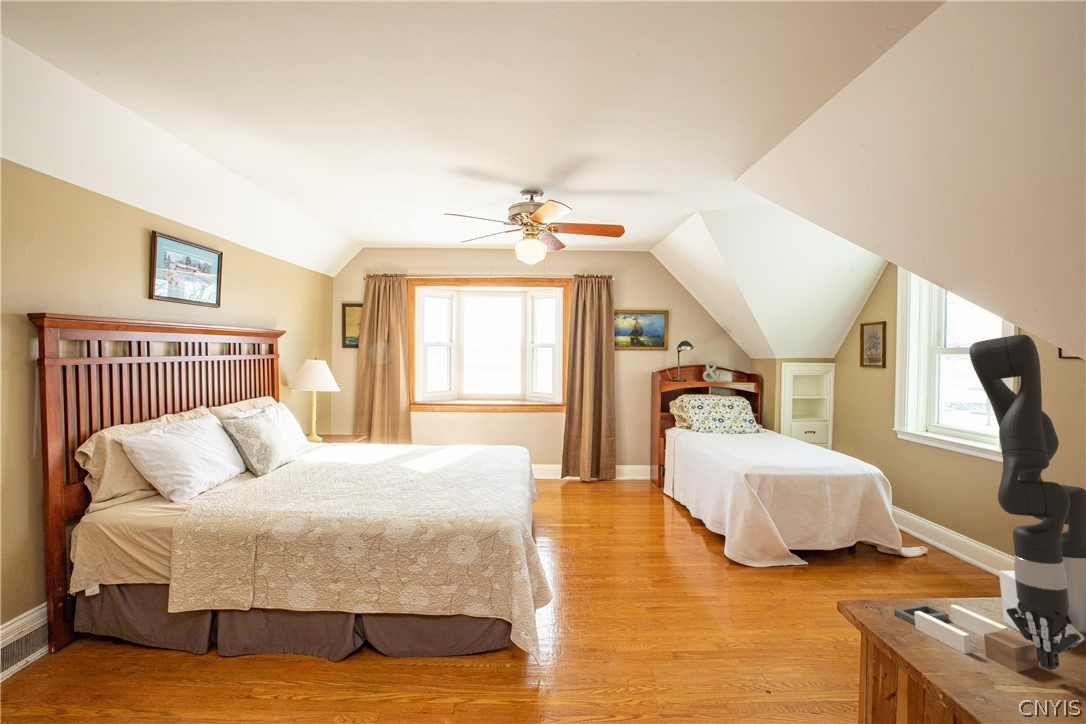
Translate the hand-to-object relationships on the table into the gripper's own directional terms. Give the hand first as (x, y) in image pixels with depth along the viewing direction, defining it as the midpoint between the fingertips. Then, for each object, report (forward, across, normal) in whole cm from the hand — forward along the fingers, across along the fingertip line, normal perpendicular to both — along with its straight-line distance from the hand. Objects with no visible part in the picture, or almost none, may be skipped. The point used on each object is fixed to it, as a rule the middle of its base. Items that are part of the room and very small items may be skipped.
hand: (1048, 667), depth 101 cm
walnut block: (+3, +7, 0) cm, 7 cm away
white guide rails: (+2, +18, 0) cm, 18 cm away
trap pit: (+2, +28, 0) cm, 28 cm away
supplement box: (+3, +16, -18) cm, 24 cm away
